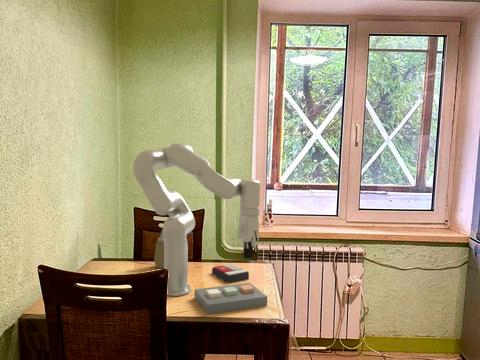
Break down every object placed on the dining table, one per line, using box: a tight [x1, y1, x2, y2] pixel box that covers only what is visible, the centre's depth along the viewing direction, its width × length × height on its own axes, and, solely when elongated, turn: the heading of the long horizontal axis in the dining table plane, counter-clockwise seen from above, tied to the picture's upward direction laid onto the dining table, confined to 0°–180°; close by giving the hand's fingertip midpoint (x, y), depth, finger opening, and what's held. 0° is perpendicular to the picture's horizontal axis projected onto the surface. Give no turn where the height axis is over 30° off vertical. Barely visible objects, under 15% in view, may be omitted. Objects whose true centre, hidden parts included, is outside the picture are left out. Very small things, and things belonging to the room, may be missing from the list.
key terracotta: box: [239, 285, 254, 294], centre depth 163 cm, size 4×4×2 cm
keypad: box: [194, 282, 268, 315], centre depth 160 cm, size 24×16×4 cm, turn 114°
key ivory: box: [206, 289, 221, 298], centre depth 157 cm, size 4×4×2 cm
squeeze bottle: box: [153, 230, 164, 270], centre depth 199 cm, size 8×8×18 cm
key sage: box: [223, 287, 238, 296], centre depth 160 cm, size 4×4×2 cm
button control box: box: [211, 263, 250, 284], centre depth 190 cm, size 11×4×15 cm
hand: (248, 257), depth 161 cm, fingers closed
